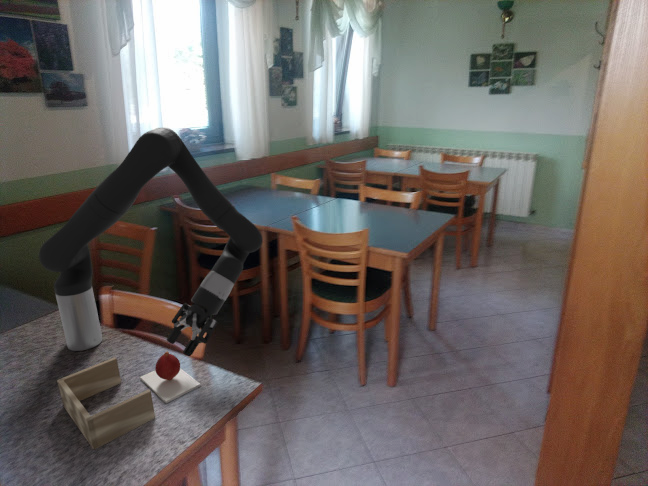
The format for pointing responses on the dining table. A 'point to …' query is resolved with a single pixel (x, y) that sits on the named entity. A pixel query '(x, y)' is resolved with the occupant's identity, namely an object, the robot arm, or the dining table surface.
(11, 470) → the dining table surface
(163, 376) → the onion
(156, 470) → the dining table surface
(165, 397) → the board
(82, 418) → the open box
